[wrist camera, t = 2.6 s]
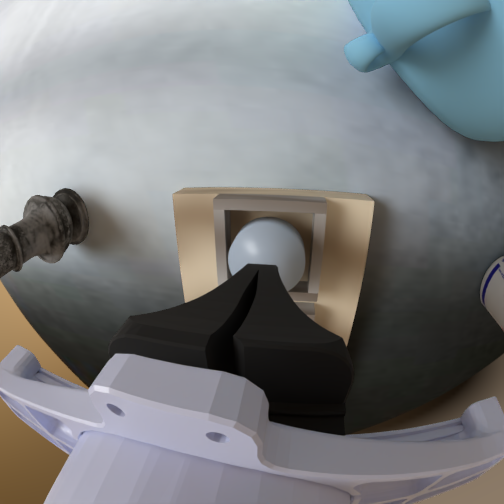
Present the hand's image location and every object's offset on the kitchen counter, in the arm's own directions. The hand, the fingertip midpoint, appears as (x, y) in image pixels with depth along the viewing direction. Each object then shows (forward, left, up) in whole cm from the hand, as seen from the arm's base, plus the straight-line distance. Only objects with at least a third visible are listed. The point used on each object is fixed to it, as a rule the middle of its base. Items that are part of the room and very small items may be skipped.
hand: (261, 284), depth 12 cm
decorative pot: (+16, -12, -7) cm, 21 cm away
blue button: (0, 0, -4) cm, 4 cm away
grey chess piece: (+1, +18, -7) cm, 19 cm away
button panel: (-7, 0, -7) cm, 10 cm away
